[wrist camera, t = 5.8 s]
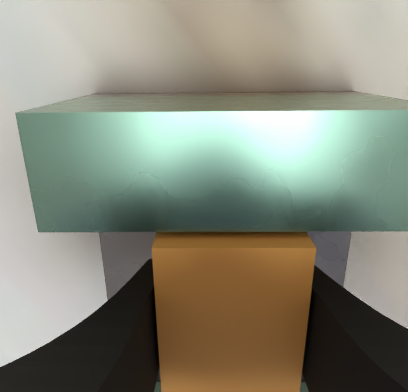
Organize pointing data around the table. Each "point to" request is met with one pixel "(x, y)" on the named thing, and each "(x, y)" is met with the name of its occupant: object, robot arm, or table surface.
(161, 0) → the table surface
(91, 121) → the base
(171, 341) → the orange cube
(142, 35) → the table surface
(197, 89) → the table surface
